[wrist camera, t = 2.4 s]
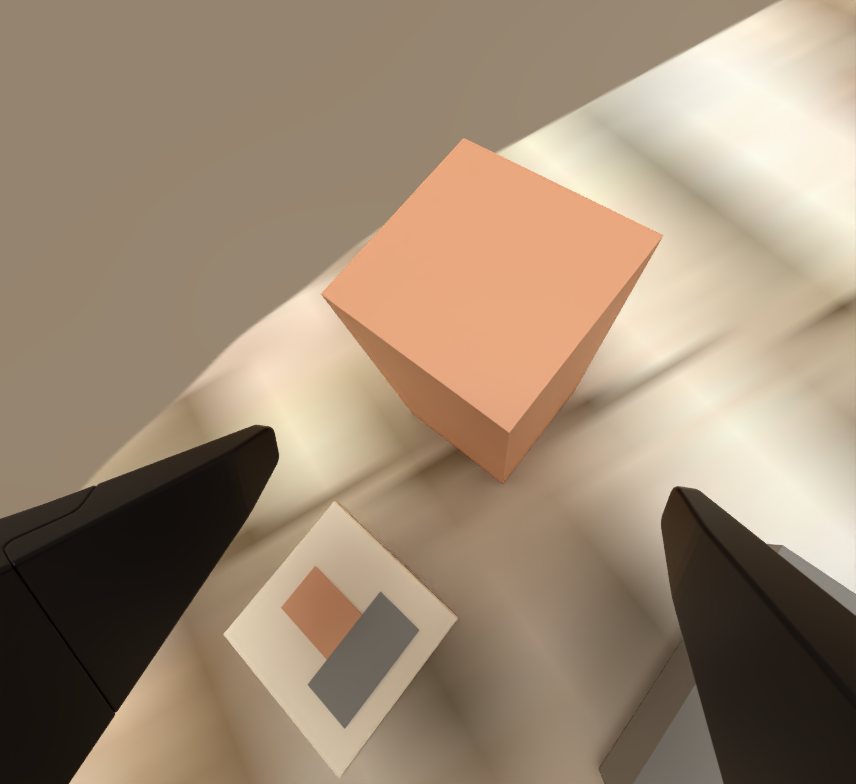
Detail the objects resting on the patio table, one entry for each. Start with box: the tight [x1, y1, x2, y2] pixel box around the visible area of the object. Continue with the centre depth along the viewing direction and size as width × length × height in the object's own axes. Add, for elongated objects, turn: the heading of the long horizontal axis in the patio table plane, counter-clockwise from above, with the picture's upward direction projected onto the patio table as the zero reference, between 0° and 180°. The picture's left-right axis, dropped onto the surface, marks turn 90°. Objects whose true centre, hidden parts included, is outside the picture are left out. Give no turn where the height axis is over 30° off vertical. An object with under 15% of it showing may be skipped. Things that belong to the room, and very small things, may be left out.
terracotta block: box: [321, 138, 663, 484], centre depth 16 cm, size 6×6×12 cm
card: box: [223, 501, 458, 778], centre depth 19 cm, size 8×8×1 cm
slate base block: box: [599, 544, 856, 784], centre depth 14 cm, size 11×11×3 cm
